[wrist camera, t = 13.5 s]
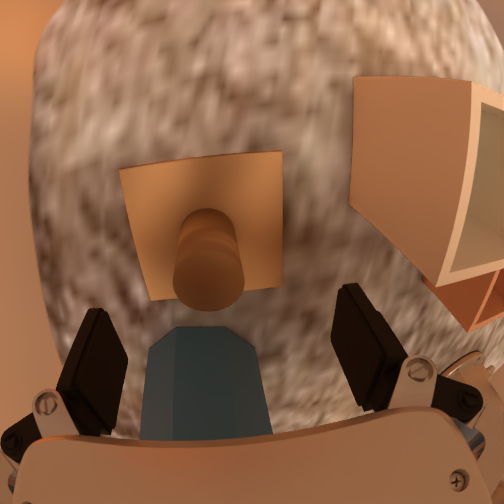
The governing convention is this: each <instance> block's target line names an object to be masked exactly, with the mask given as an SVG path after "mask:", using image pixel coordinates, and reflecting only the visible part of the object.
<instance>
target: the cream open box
mask: <svg viewBox="0 0 504 504" xmlns="http://www.w3.org/2000/svg"><path fill="white" fill-rule="evenodd" d="M349 204H350V205H351V206H352V207H353V208H354V209H355V210H356V211H358V212H359V213H360V214H361V215H362V216H363V217H364V218H365V219H366V220H368V221H369V222H370V223H371V224H372V225H373V226H374V227H375V228H376V229H377V230H378V231H380V232H381V233H382V234H383V235H384V236H385V237H386V238H387V239H388V240H389V241H390V242H391V243H392V244H393V245H394V246H395V247H396V248H397V249H398V250H399V251H400V252H401V253H402V254H404V255H405V256H406V257H407V258H408V259H409V260H410V261H411V262H412V264H413V265H414V266H415V267H416V268H417V269H418V270H419V271H420V272H421V273H422V274H423V275H424V276H425V277H426V278H427V279H428V280H429V281H430V282H431V283H432V284H433V285H434V286H435V287H439V286H443V285H447V284H450V283H454V282H458V281H461V280H465V279H469V278H472V277H476V276H479V275H482V274H486V273H489V272H492V271H496V270H499V269H502V268H504V96H503V95H501V94H499V93H497V92H495V91H492V90H490V89H488V88H486V87H484V86H481V85H479V84H477V83H474V82H472V81H464V80H456V79H445V78H432V77H413V76H368V77H353V144H352V165H351V180H350V193H349Z"/></svg>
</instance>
